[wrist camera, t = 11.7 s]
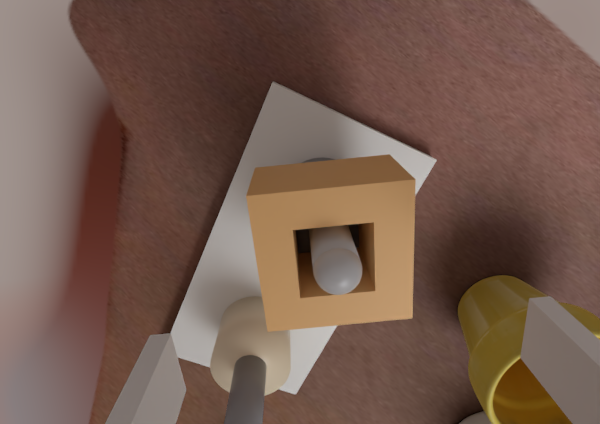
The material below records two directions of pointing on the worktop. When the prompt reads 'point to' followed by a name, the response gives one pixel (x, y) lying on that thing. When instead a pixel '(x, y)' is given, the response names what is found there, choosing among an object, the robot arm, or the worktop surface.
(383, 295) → the collar
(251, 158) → the assembly board
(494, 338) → the plant pot
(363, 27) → the worktop surface
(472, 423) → the milk bottle
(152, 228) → the worktop surface
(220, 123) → the worktop surface
